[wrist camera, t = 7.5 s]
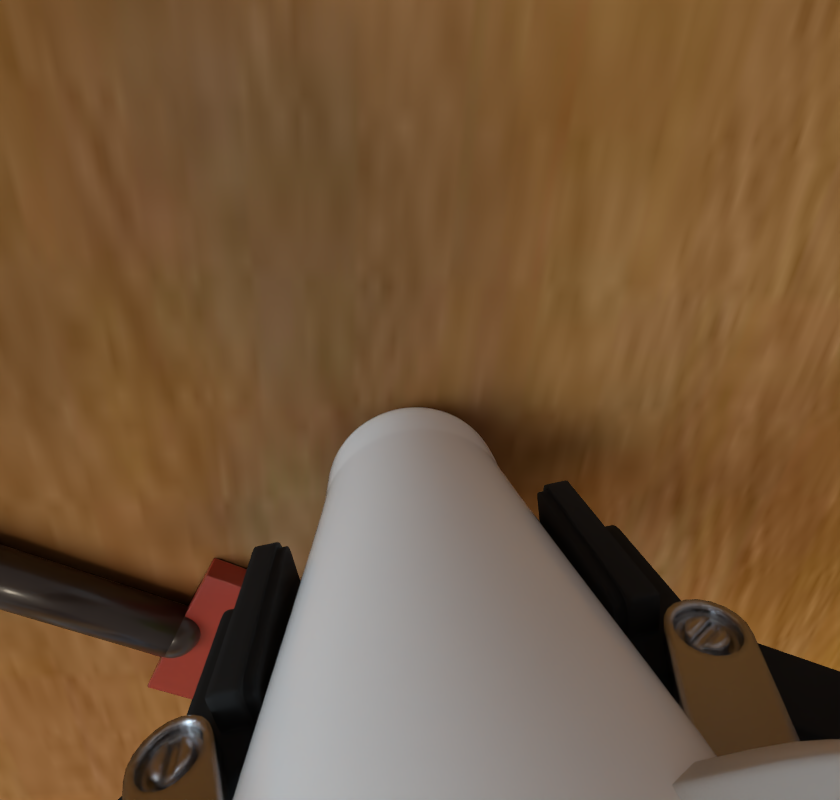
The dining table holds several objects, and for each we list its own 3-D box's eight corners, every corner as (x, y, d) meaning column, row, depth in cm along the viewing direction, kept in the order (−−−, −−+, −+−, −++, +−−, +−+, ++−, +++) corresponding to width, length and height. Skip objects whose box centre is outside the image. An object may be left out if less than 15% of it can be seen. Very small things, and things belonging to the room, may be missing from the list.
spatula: (-246, 548, 14) (-319, 587, 12) (-213, 402, 13) (-289, 425, 11) (363, 724, 19) (363, 766, 18) (427, 634, 18) (433, 670, 17)
